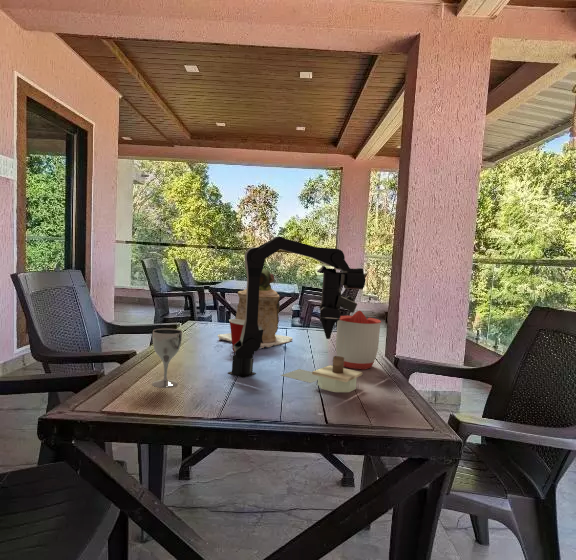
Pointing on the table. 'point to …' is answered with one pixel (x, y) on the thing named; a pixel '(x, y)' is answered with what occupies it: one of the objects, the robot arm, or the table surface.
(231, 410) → the table surface
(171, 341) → the wine glass
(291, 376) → the mat
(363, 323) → the citrus juicer
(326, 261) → the robot arm
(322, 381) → the bowl
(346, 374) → the lid
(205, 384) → the table surface
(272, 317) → the cookie jar
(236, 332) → the plastic cup
